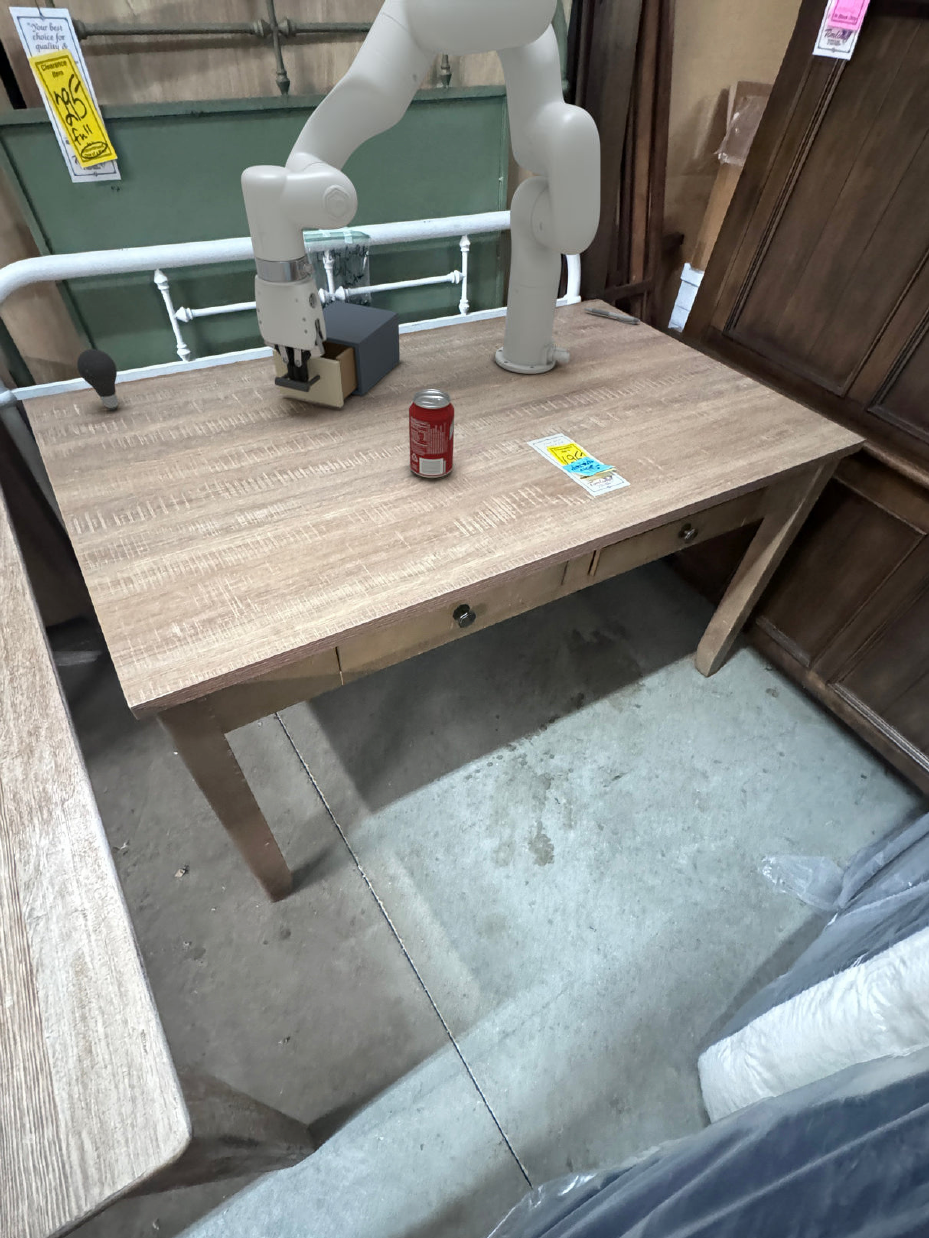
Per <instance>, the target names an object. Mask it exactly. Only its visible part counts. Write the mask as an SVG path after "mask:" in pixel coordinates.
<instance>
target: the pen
mask: <svg viewBox="0 0 929 1238" xmlns="http://www.w3.org/2000/svg"><path fill="white" fill-rule="evenodd" d="M584 310H585V311H586V312H588V313H592V314H596V315H601V316H605V317H610V318H615V319H617V320H618V321H620V322H622V323H627V324H631V325H632V324H633V325H634V324H635V325H636V324H637V323H640V322H641V320H640V319H639V318H637V317H634V316H631V315H625V314H620V313H616V312H612V311H608V310H603V309H599V308H594V307H584Z"/></svg>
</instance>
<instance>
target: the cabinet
mask: <svg viewBox="0 0 929 1238" xmlns="http://www.w3.org/2000/svg"><path fill="white" fill-rule="evenodd" d="M322 310H323V315H324V321H325V328H326V340H325V341H327V342H332V343H336V344H341V345H346V346H351V347H355V354H356V366H357V378H358V387H357V388H356V389H355V390H353V391H352V392H351V393H350V394H352V395H357V396H361V397H363V396H364V395H365V394H367V393H368V392H369V391H370V390H371V389H372V388H373V387H374V386H375V385H377V384H378V382H380V381H381V380H382V379H383V378H384V377H385V376H386V375H387V374H389V373H390V372H391V371H392V370H393V369H394V368H395V367H396V366H397V365H398V364H399V363H400V362H401V354H400V353H401V352H400V350H401V349H400V324H399V323H400V322H399V321H400V320H399V312H398V311H393V310H387V309H382V308H376V307H371V306H366V305H361V304H355V303H350V302H344V301H340V300H334V301H332V302H331V303H330V304H328V305H327V306H325V307H324V308H322Z"/></svg>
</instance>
